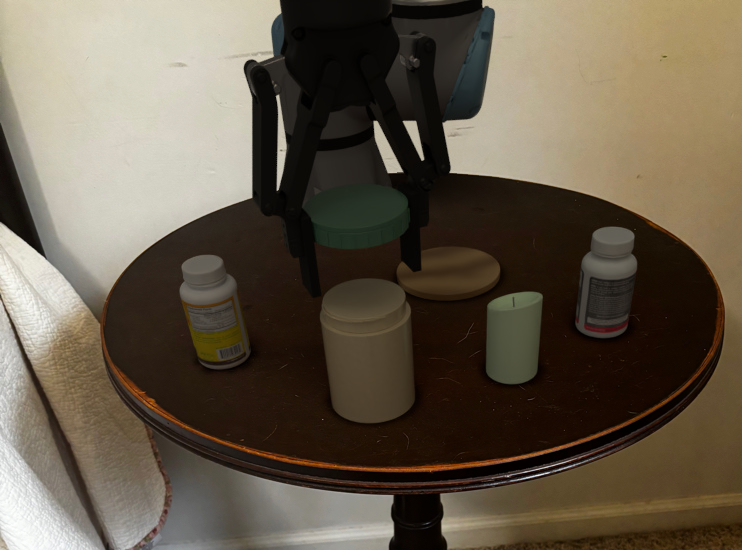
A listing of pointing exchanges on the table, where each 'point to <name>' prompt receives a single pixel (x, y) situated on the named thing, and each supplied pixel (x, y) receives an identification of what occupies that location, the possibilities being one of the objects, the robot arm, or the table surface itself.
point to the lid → (358, 216)
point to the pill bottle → (606, 283)
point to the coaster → (450, 274)
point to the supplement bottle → (214, 313)
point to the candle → (513, 337)
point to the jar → (368, 350)
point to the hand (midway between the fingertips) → (362, 277)
